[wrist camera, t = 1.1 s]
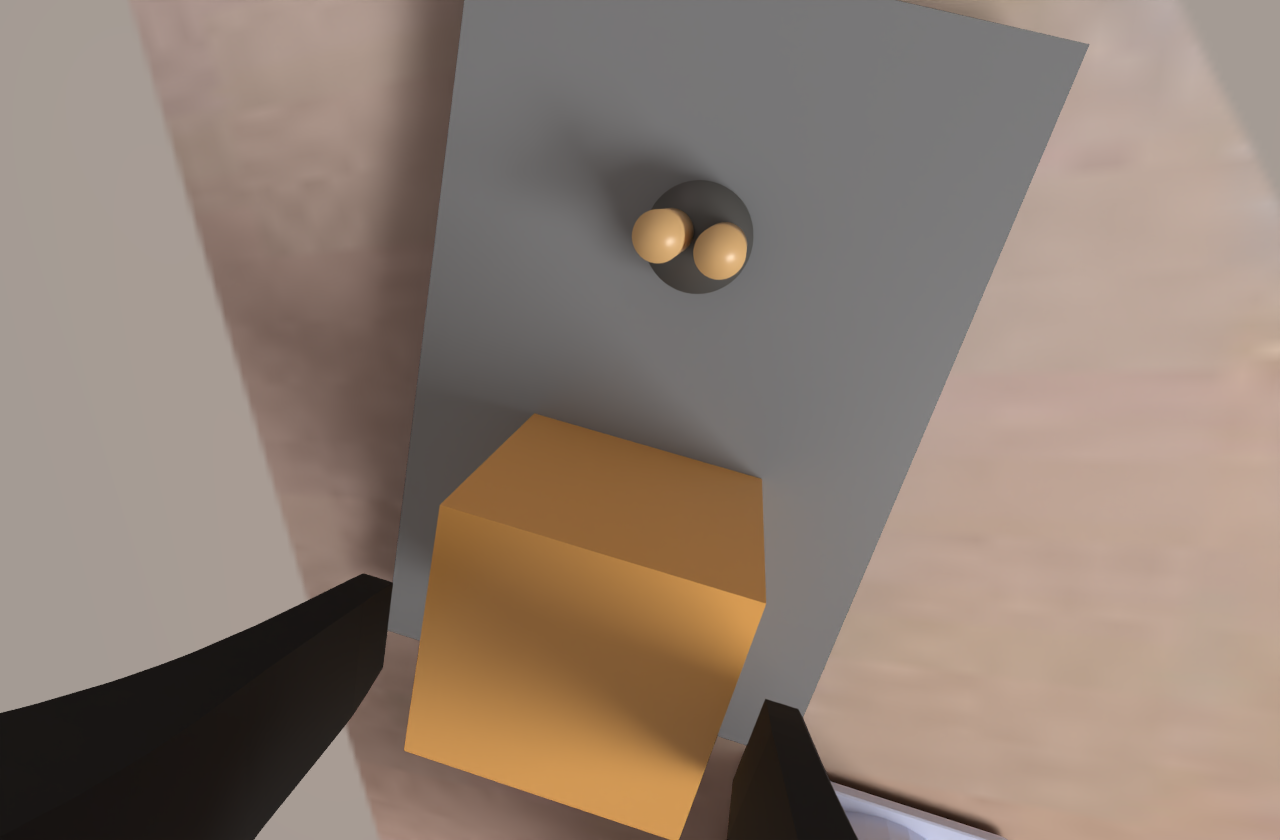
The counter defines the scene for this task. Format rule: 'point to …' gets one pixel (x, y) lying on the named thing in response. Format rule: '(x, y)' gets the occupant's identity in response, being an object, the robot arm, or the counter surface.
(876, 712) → the counter surface
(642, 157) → the flat grey tile
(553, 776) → the amber cube
